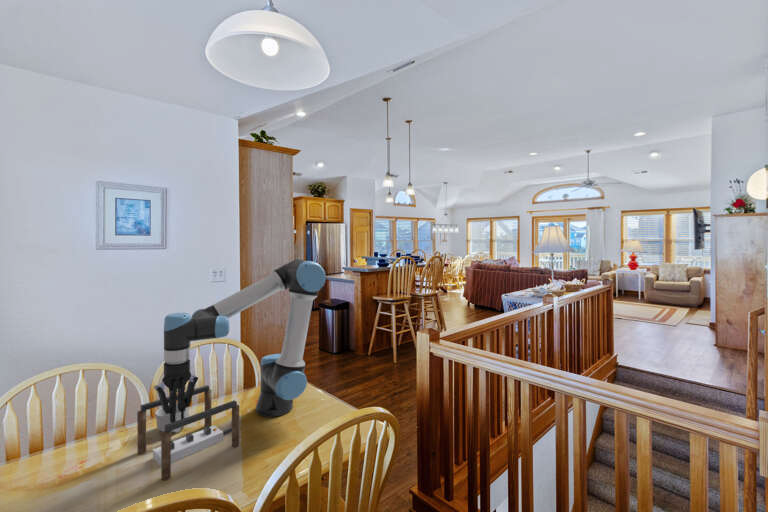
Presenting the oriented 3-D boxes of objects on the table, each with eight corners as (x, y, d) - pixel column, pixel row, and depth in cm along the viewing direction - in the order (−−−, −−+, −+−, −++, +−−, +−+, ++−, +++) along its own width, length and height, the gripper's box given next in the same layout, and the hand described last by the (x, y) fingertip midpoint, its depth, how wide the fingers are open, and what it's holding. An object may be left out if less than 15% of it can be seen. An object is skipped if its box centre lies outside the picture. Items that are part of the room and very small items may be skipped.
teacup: (173, 438, 127) (173, 416, 127) (148, 434, 129) (148, 413, 129) (201, 419, 141) (201, 399, 140) (177, 416, 143) (177, 397, 143)
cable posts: (209, 424, 137) (209, 388, 137) (240, 445, 124) (240, 406, 123) (136, 452, 118) (136, 411, 118) (163, 481, 104) (163, 435, 104)
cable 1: (207, 389, 136) (207, 385, 136) (209, 390, 135) (209, 386, 135) (140, 409, 118) (140, 405, 118) (142, 411, 117) (142, 406, 117)
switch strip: (229, 426, 136) (229, 414, 136) (238, 433, 131) (239, 420, 131) (152, 458, 115) (152, 444, 115) (161, 467, 111) (161, 452, 111)
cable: (234, 404, 123) (234, 400, 123) (236, 406, 122) (236, 401, 122) (164, 430, 106) (164, 425, 106) (167, 432, 105) (167, 427, 105)
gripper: (192, 353, 124) (192, 419, 125) (150, 362, 114) (150, 434, 115) (202, 358, 119) (202, 426, 120) (159, 368, 109) (159, 443, 110)
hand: (176, 430), depth 118 cm, fingers closed
